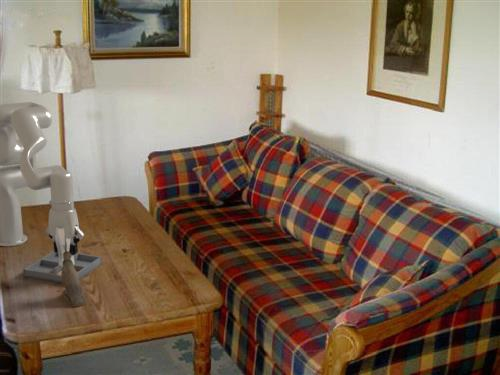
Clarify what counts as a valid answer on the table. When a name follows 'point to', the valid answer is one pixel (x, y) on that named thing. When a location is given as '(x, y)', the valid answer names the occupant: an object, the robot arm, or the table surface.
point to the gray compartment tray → (52, 272)
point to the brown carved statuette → (71, 283)
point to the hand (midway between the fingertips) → (65, 252)
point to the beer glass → (63, 245)
